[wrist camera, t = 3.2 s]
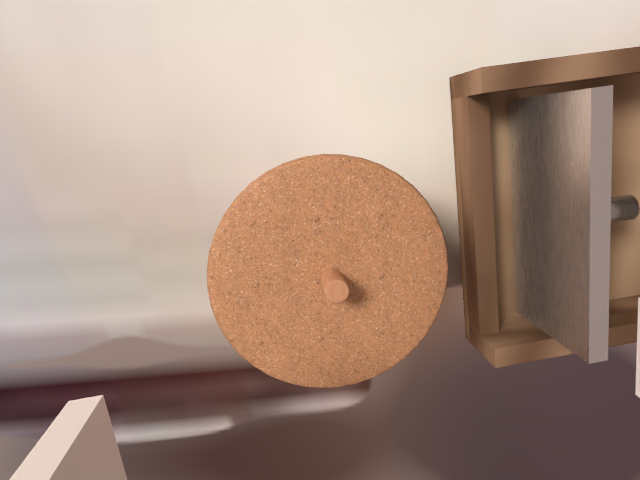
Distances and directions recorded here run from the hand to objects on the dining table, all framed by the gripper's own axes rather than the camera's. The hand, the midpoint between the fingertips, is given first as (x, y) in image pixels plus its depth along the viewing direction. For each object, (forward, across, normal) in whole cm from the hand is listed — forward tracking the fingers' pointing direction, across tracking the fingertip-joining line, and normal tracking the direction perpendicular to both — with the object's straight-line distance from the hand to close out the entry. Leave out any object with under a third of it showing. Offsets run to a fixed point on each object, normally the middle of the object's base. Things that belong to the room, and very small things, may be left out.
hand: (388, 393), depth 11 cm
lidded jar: (+17, 0, 0) cm, 17 cm away
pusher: (+16, +14, 0) cm, 21 cm away
